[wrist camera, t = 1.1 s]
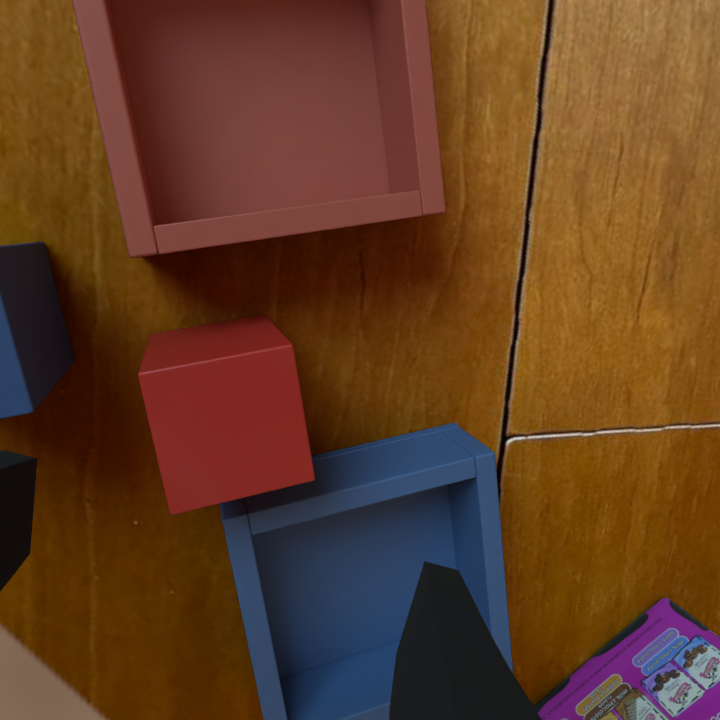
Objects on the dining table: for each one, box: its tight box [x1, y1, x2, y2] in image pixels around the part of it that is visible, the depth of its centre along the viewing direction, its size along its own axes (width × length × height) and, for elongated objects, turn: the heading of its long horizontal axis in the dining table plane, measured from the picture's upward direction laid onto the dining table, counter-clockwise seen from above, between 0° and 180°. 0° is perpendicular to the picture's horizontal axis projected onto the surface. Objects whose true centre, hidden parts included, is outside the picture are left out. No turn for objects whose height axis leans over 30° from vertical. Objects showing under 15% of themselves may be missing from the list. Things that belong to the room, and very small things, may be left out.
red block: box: [138, 314, 315, 515], centre depth 19 cm, size 4×4×6 cm
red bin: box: [72, 0, 446, 258], centre depth 19 cm, size 10×10×4 cm
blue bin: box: [220, 423, 513, 720], centre depth 23 cm, size 10×10×4 cm
